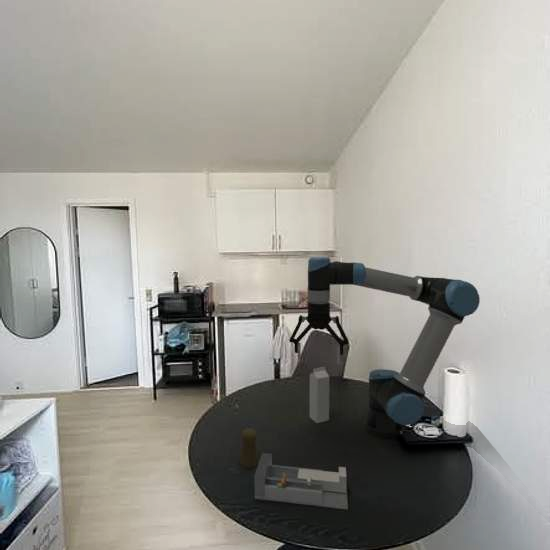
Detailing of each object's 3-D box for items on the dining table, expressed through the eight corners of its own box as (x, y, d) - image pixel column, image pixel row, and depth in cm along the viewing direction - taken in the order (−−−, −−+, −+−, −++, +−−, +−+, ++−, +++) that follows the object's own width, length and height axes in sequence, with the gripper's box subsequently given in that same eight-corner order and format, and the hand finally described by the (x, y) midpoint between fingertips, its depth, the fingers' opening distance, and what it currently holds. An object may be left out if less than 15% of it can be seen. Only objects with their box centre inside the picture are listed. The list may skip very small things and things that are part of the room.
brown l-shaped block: (285, 490, 99) (285, 473, 99) (283, 500, 95) (283, 482, 95) (277, 489, 100) (277, 472, 100) (275, 499, 96) (275, 481, 95)
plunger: (345, 482, 103) (345, 467, 102) (346, 500, 96) (346, 483, 95) (298, 478, 105) (298, 462, 105) (296, 494, 98) (296, 478, 98)
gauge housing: (346, 482, 104) (346, 460, 104) (347, 509, 94) (347, 485, 93) (262, 474, 109) (262, 452, 108) (254, 498, 98) (254, 475, 97)
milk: (309, 417, 146) (309, 366, 144) (321, 414, 148) (321, 364, 147) (317, 423, 140) (317, 371, 139) (329, 420, 143) (329, 368, 142)
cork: (244, 470, 111) (243, 437, 110) (237, 460, 116) (237, 428, 115) (261, 464, 114) (261, 432, 113) (253, 455, 119) (253, 424, 118)
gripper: (355, 301, 119) (354, 361, 121) (284, 300, 123) (284, 357, 125) (356, 304, 112) (356, 368, 113) (281, 303, 116) (281, 364, 117)
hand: (318, 363), depth 119 cm, fingers open, 13 cm apart
